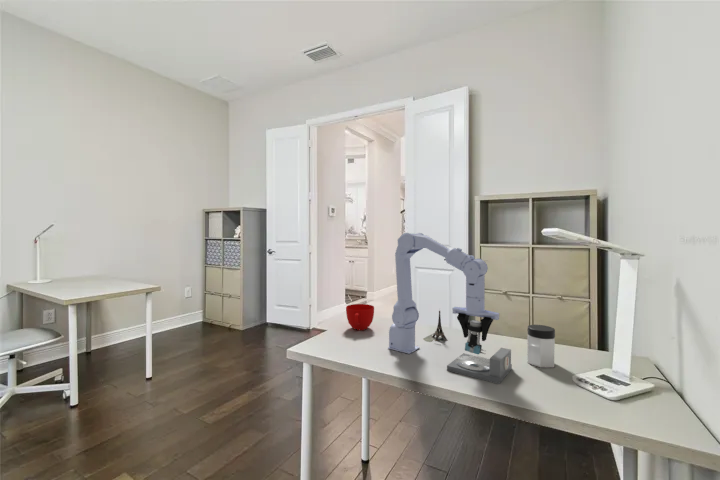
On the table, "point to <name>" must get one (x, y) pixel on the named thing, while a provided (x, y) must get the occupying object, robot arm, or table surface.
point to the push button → (474, 337)
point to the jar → (541, 346)
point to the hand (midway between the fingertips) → (474, 338)
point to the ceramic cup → (360, 315)
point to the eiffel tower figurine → (437, 333)
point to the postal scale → (483, 366)
